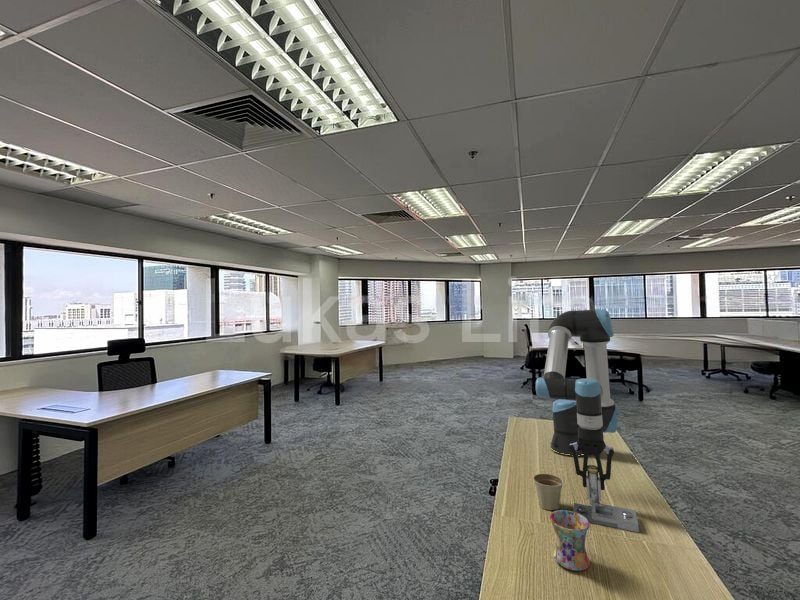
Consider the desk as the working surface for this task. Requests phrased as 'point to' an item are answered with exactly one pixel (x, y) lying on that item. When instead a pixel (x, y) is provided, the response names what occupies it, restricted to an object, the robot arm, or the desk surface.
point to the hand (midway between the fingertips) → (594, 497)
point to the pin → (593, 484)
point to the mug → (570, 539)
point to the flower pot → (548, 490)
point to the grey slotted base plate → (609, 516)
